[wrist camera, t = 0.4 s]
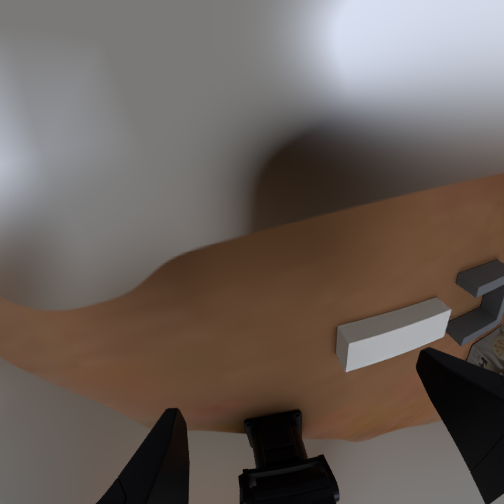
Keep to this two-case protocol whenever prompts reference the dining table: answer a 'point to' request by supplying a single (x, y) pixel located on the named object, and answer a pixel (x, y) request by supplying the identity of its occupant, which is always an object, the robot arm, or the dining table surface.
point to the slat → (390, 333)
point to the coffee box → (489, 351)
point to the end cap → (492, 307)
